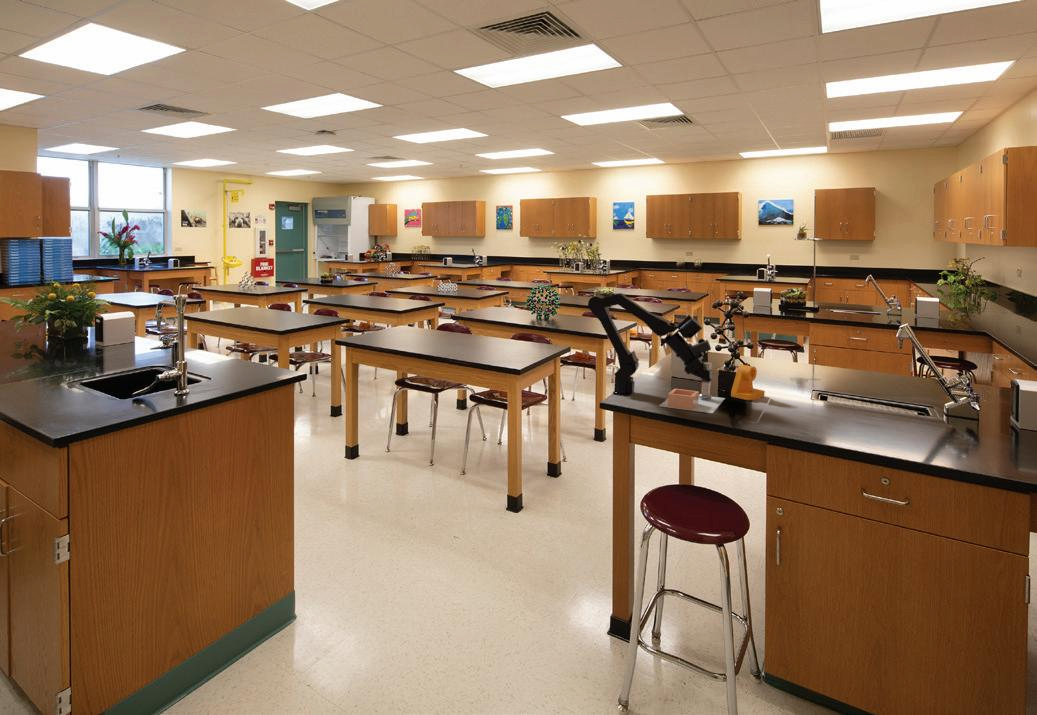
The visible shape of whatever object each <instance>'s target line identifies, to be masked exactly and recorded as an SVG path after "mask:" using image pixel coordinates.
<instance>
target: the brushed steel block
mask: <svg viewBox="0 0 1037 715" xmlns="http://www.w3.org/2000/svg"><path fill="white" fill-rule="evenodd" d="M703 367H704V369H705V370H706V372H707V374H708V375H709V377H710V378H711V381H712V378H713V377H712V375H713V368H712V367H713V363H712V362H707V361H704V364H703ZM700 379H701V380H700V381H701V390H700V391H701V392H699V398H703V399H711V398H712V397H713V396H712V393H711V381H710V382H708V381H706V380H704V379H702V378H700Z"/></svg>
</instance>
